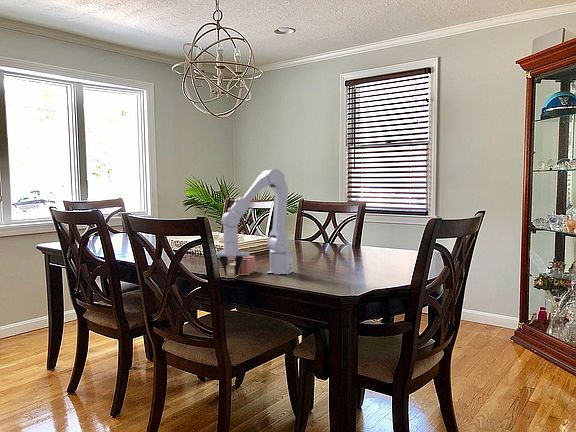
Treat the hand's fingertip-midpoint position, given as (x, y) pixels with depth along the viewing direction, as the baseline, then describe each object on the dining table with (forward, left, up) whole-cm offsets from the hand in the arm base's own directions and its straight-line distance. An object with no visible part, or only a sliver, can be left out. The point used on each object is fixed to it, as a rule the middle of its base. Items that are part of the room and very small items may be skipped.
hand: (231, 274), depth 198 cm
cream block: (+1, -4, -1) cm, 4 cm away
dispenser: (+2, -9, -1) cm, 9 cm away
